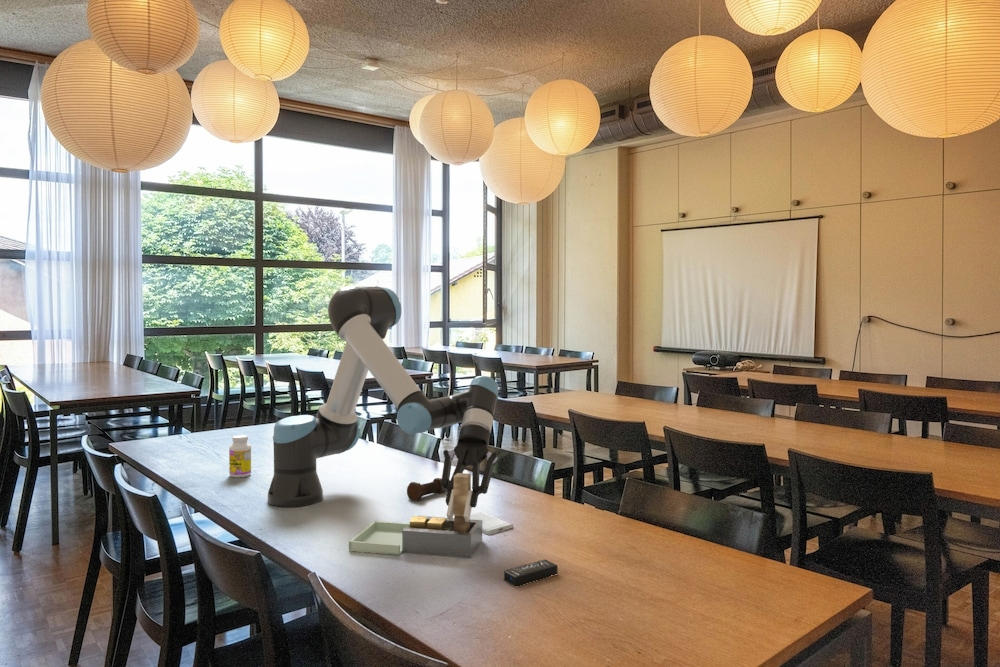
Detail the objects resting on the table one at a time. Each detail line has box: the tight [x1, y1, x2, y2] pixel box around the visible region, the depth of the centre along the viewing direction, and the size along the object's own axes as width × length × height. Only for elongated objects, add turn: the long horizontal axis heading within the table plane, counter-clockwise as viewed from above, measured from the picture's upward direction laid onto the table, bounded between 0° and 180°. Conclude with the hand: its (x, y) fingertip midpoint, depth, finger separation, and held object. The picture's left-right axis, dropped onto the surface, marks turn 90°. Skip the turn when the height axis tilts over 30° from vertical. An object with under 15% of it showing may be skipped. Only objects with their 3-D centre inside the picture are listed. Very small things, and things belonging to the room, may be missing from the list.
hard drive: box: [470, 512, 514, 536], centre depth 173 cm, size 2×8×12 cm
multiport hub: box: [503, 559, 559, 587], centre depth 140 cm, size 4×11×2 cm, turn 125°
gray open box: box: [402, 515, 483, 559], centre depth 157 cm, size 16×11×5 cm
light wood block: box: [409, 515, 427, 529], centre depth 158 cm, size 4×4×3 cm
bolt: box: [406, 477, 451, 502], centre depth 200 cm, size 6×5×15 cm
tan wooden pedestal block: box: [453, 472, 472, 532], centre depth 156 cm, size 3×4×13 cm
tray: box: [348, 520, 410, 556], centre depth 160 cm, size 12×15×2 cm
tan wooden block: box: [427, 516, 447, 531], centre depth 158 cm, size 4×4×3 cm
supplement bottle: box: [228, 434, 252, 479], centre depth 221 cm, size 7×7×13 cm
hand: (457, 518), depth 152 cm, fingers closed on tan wooden pedestal block, 3 cm apart
